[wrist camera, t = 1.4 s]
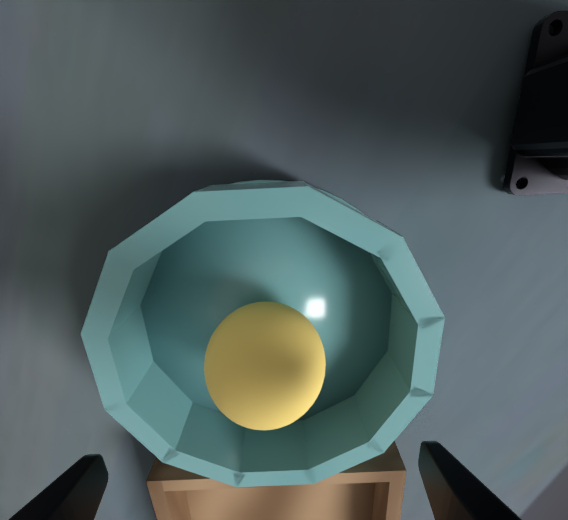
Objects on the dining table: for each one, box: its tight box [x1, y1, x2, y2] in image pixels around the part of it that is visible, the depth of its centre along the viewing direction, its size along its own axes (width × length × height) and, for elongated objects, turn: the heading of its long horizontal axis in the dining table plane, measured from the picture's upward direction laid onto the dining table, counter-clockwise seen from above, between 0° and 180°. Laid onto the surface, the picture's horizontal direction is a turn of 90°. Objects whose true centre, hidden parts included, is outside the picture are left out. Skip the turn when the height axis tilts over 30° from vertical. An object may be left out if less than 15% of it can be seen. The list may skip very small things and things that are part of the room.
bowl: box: [80, 180, 445, 487], centre depth 13 cm, size 14×14×3 cm
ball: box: [204, 301, 326, 430], centre depth 12 cm, size 5×5×5 cm
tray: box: [146, 441, 406, 520], centre depth 18 cm, size 14×11×3 cm
